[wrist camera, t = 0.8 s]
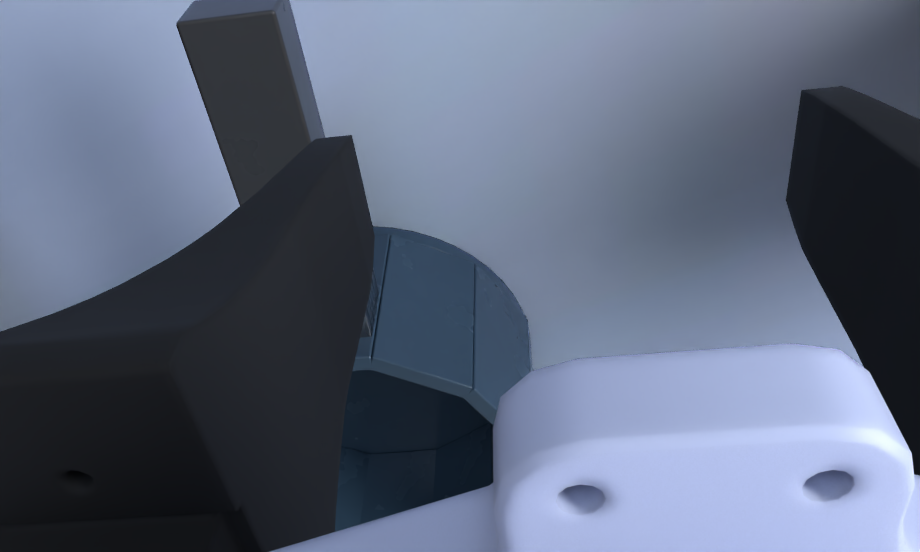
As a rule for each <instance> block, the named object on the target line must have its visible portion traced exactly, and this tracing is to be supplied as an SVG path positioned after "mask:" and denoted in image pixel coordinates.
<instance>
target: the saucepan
mask: <svg viewBox="0 0 920 552" xmlns="http://www.w3.org/2000/svg"><path fill="white" fill-rule="evenodd" d="M176 26H177V29H178V31H179V34H180V37H181V40H182V43H183V46H184V48H185V51H186V54H187V57H188V60H189V63H190V65H191V68H192V71H193V74H194V77H195V80H196V82H197V85H198V88H199V91H200V94H201V97H202V99H203V102H204V105H205V108H206V111H207V114H208V116H209V119H210V122H211V125H212V128H213V131H214V133H215V136H216V139H217V142H218V145H219V148H220V150H221V153H222V156H223V159H224V162H225V164H226V167H227V170H228V173H229V176H230V179H231V181H232V184H233V187H234V190H235V193H236V196H237V198H238V201H239V204H240V206H241V205H242V204H244V203H245V202H246V201H247V200H248V199H250V198H251V197H252V196H253V195H254V194H256V193H257V192H258V191H259V190H260V189H261V188H262V187H263V186H264V185H265V184H266V183H268V182H269V181H270V180H271V179H272V178H273V177H274V176H275V175H276V174H277V173H278V172H279V171H280V170H282V169H283V168H284V167H285V166H286V165H287V164H288V163H289V162H290V161H291V160H292V159H293V158H294V157H295V156H296V155H297V154H298V153H300V152H301V151H302V150H303V149H304V148H305V147H306V146H307V145H309V144H310V143H311V142H312V141H314V140H315V139H319V138H325V135H324V131H323V127H322V123H321V119H320V116H319V112H318V108H317V104H316V100H315V97H314V93H313V89H312V85H311V81H310V77H309V74H308V70H307V66H306V62H305V58H304V55H303V51H302V47H301V43H300V39H299V35H298V32H297V28H296V24H295V20H294V16H293V13H292V9H291V5H290V1H289V0H197V1H194V2H192V4H191V5H190V6H189V8H188V9H187V10H186V11H185V13H184V14H183V15H182V16H181V18H180V19H179V20H178V21H177V25H176ZM373 231H374V235H375V242H374V259H373V272H372V284H371V289H370V294H369V299H368V303H367V308H366V313H365V317H364V322H363V326H362V331H361V335H360V339H359V344H358V348H357V353H356V357H355V361H354V366H353V370H352V375H351V379H350V383H349V389H348V395H347V400H346V406H345V415H344V425H343V435H342V445H341V455H340V467H339V479H338V491H337V504H336V519H335V532H336V531H340V530H343V529H346V528H350V527H353V526H356V525H360V524H363V523H366V522H370V521H373V520H376V519H380V518H383V517H386V516H390V515H393V514H396V513H400V512H403V511H406V510H410V509H413V508H416V507H420V506H423V505H426V504H430V503H433V502H436V501H440V500H443V499H446V498H450V497H453V496H456V495H460V494H463V493H466V492H470V491H473V490H476V489H480V488H483V487H486V486H489V485H491V484H492V483H493V426H494V422H495V418H496V413H497V409H498V405H499V401H500V397H501V396H502V395H503V394H505V393H506V392H507V391H508V390H509V389H511V388H512V387H513V386H514V385H515V384H517V383H518V382H519V381H520V380H521V379H522V378H524V377H525V376H526V375H527V374H528V373H530V372H531V371H533V365H532V355H531V344H530V335H529V328H528V320H527V319H526V316H525V315H524V314H523V311H522V309H521V307H520V305H519V303H518V302H517V300H516V298H515V297H514V295H513V293H512V292H511V291H510V290H509V288H508V287H507V286H506V285H505V283H504V282H503V281H502V280H501V279H500V278H499V277H498V276H497V275H496V274H495V273H494V272H493V271H492V270H491V269H489V268H488V267H487V266H486V265H484V264H483V263H482V262H480V261H479V260H477V259H476V258H475V257H473V256H472V255H470V254H468V253H466V252H465V251H463V250H461V249H459V248H457V247H456V246H454V245H451V244H449V243H446V242H444V241H441V240H439V239H437V238H434V237H430V236H427V235H423V234H420V233H416V232H413V231H407V230H401V229H395V228H386V227H373Z"/></svg>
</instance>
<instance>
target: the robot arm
mask: <svg viewBox="0 0 920 552" xmlns="http://www.w3.org/2000/svg"><path fill="white" fill-rule="evenodd" d="M786 202H787V205H788V209H789V212H790V215H791V218H792V221H793V225H794V228H795V230H796V233H797V236H798V239H799V242H800V245H801V247H802V250H803V252H804V254H805V256H806V258H807V260H808V262H809V264H810V265H811V267H812V269H813V271H814V273H815V275H816V277H817V279H818V281H819V283H820V285H821V286H822V288H823V290H824V292H825V294H826V296H827V298H828V299H829V301H830V303H831V305H832V307H833V309H834V310H835V312H836V314H837V316H838V318H839V320H840V322H841V323H842V325H843V327H844V329H845V331H846V333H847V335H848V336H849V338H850V340H851V342H852V344H853V346H854V348H855V349H856V352H857V354H858V356H859V358H860V360H861V362H862V364H863V366H864V367H862V366H861V365H860V364H858V363H857V362H856V361H854V360H853V359H852V358H850V357H849V356H848V355H846V354H845V353H844V352H842V351H841V350H840V349H834V348H826V347H818V346H810V345H801V344H793V343H787V344H773V345H759V346H745V347H732V348H718V349H704V350H690V351H676V352H662V353H648V354H635V355H621V356H607V357H593V358H579V359H574V360H571V361H567V362H563V363H559V364H556V365H552V366H548V367H545V368H541V369H537V370H533V371H531V372H530V373H528V374H527V375H526V376H525V377H524V378H522V379H521V380H520V381H519V382H518V383H517V384H515V385H514V386H513V387H512V388H511V389H509V390H508V391H507V392H506V393H505V394H503V395H502V396H501V397H500V401H499V405H498V409H497V413H496V418H495V422H494V426H493V483H492V484H491V485H489V486H486V487H483V488H480V489H476V490H473V491H470V492H466V493H463V494H460V495H456V496H453V497H450V498H446V499H443V500H440V501H436V502H433V503H430V504H426V505H423V506H420V507H416V508H413V509H410V510H406V511H403V512H400V513H396V514H393V515H390V516H386V517H383V518H380V519H376V520H373V521H370V522H366V523H363V524H360V525H356V526H353V527H350V528H346V529H343V530H340V531H336V532H335V519H336V504H337V491H338V479H339V467H340V455H341V445H342V435H343V425H344V415H345V406H346V400H347V395H348V389H349V383H350V379H351V375H352V370H353V366H354V361H355V357H356V353H357V348H358V344H359V339H360V335H361V331H362V326H363V322H364V317H365V313H366V308H367V303H368V299H369V294H370V289H371V284H372V272H373V259H374V242H375V235H374V231H373V226H372V222H371V218H370V213H369V209H368V204H367V200H366V196H365V191H364V187H363V183H362V178H361V174H360V169H359V165H358V161H357V156H356V152H355V148H354V143H353V139H352V135H349V136H339V137H329V138H319V139H315V140H314V141H312V142H311V143H310V144H309V145H307V146H306V147H305V148H304V149H303V150H302V151H301V152H300V153H298V154H297V155H296V156H295V157H294V158H293V159H292V160H291V161H290V162H289V163H288V164H287V165H286V166H285V167H284V168H283V169H282V170H280V171H279V172H278V173H277V174H276V175H275V176H274V177H273V178H272V179H271V180H270V181H269V182H268V183H266V184H265V185H264V186H263V187H262V188H261V189H260V190H259V191H258V192H257V193H256V194H254V195H253V196H252V197H251V198H250V199H248V200H247V201H246V202H245V203H244V204H242V205H241V206H240V207H239V208H238V209H236V210H235V211H234V212H233V213H232V214H230V215H229V216H228V217H227V218H226V219H224V220H223V221H222V222H221V223H220V224H218V225H217V226H216V227H214V228H213V229H212V230H210V231H209V232H207V233H206V234H205V235H203V236H202V237H200V238H199V239H198V240H196V241H195V242H193V243H192V244H190V245H188V246H187V247H185V248H184V249H182V250H181V251H179V252H178V253H176V254H175V255H173V256H171V257H170V258H168V259H166V260H165V261H163V262H161V263H159V264H157V265H156V266H154V267H152V268H150V269H148V270H146V271H145V272H143V273H141V274H139V275H137V276H135V277H134V278H132V279H130V280H128V281H126V282H125V283H122V284H120V285H118V286H116V287H114V288H112V289H110V290H108V291H106V292H103V293H101V294H99V295H97V296H95V297H92V298H90V299H88V300H85V301H83V302H81V303H78V304H76V305H74V306H71V307H69V308H66V309H64V310H61V311H59V312H56V313H53V314H51V315H48V316H45V317H42V318H39V319H36V320H33V321H30V322H27V323H25V324H22V325H19V326H16V327H13V328H10V329H7V330H4V331H1V332H0V552H920V120H919V119H917V118H915V117H913V116H911V115H909V114H906V113H904V112H902V111H900V110H898V109H896V108H894V107H892V106H889V105H887V104H885V103H883V102H881V101H879V100H876V99H874V98H872V97H870V96H867V95H865V94H863V93H860V92H858V91H855V90H853V89H850V88H846V87H843V86H838V87H828V88H818V89H808V90H801V97H800V104H799V111H798V118H797V125H796V132H795V139H794V146H793V153H792V161H791V168H790V175H789V182H788V189H787V196H786Z"/></svg>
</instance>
